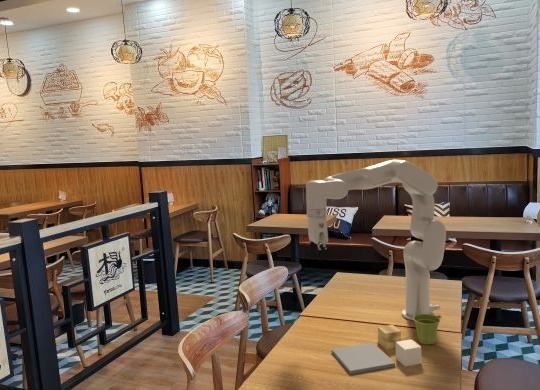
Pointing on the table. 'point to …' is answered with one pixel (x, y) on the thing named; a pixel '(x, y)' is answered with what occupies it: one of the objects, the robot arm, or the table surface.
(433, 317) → the plant pot
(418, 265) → the robot arm
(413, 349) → the cream block
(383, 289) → the table surface
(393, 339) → the mustard block
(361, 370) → the plate
